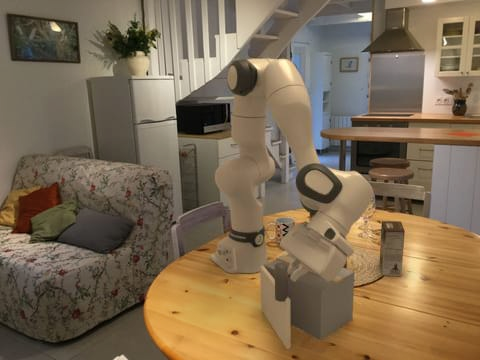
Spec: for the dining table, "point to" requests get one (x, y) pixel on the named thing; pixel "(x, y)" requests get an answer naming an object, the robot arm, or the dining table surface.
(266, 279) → the flap
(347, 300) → the carton
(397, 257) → the coffee box
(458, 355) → the dining table surface
